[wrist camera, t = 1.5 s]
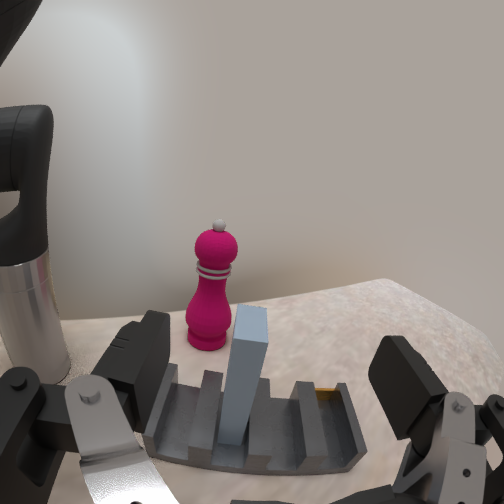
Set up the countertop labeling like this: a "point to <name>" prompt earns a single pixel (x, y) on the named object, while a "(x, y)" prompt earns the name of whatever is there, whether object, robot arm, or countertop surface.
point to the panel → (243, 372)
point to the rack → (256, 429)
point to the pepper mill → (211, 289)
